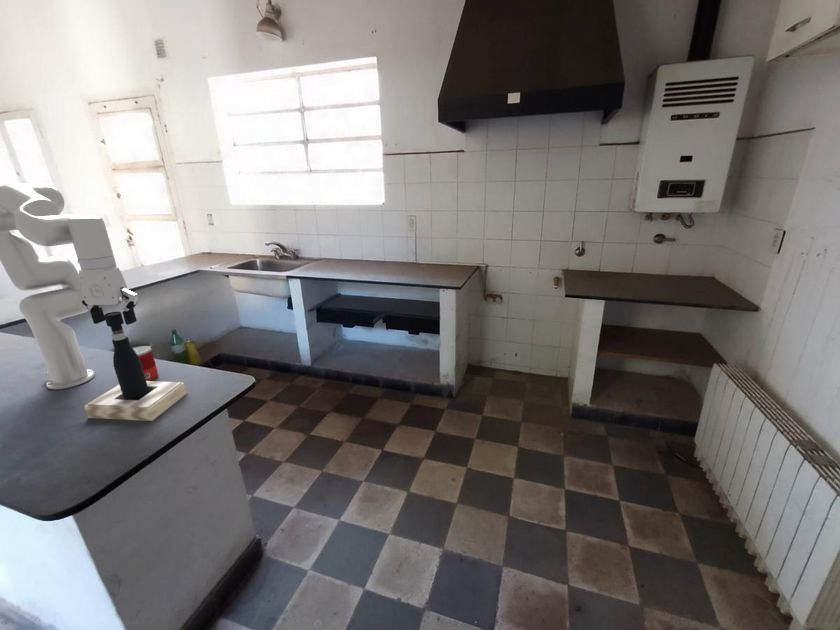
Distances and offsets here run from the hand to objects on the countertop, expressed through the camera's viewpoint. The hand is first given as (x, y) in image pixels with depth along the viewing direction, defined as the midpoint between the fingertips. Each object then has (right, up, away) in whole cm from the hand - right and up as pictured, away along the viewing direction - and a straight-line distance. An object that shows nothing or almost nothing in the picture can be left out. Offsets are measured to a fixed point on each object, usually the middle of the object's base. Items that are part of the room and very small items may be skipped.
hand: (115, 322), depth 109 cm
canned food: (-9, -20, +25) cm, 33 cm away
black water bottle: (0, -26, +9) cm, 28 cm away
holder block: (0, -26, +9) cm, 27 cm away
